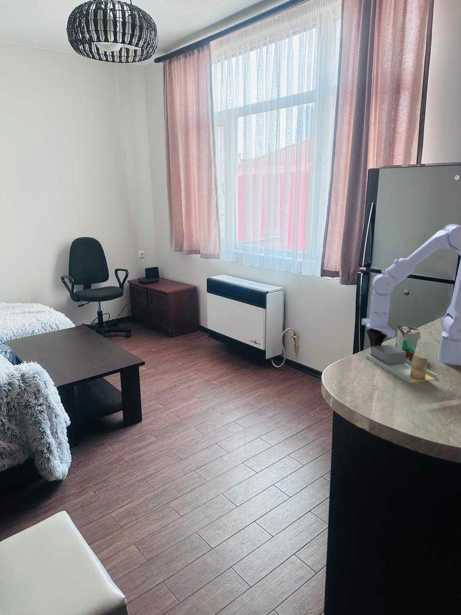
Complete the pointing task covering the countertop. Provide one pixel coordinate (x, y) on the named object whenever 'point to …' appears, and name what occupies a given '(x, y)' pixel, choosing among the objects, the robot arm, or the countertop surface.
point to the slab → (388, 354)
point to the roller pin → (418, 367)
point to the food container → (407, 339)
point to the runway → (402, 370)
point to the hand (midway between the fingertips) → (375, 351)
